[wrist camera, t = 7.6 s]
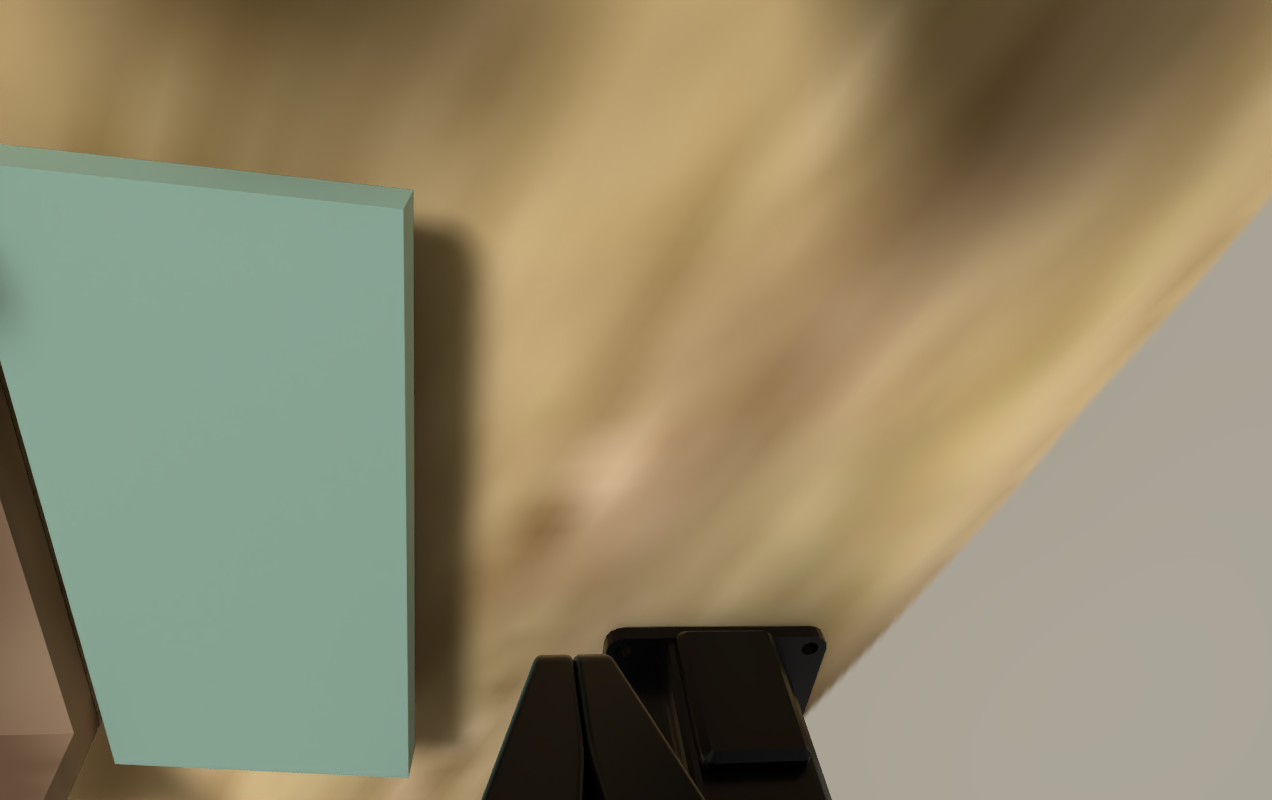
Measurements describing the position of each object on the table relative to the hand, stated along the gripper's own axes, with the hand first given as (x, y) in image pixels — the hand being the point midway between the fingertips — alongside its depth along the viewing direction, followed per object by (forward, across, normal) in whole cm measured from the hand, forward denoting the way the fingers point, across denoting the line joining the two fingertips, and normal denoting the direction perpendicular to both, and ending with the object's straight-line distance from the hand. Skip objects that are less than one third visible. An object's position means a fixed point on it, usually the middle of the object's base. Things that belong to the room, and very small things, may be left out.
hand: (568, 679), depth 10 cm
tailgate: (+10, +10, +6) cm, 15 cm away
